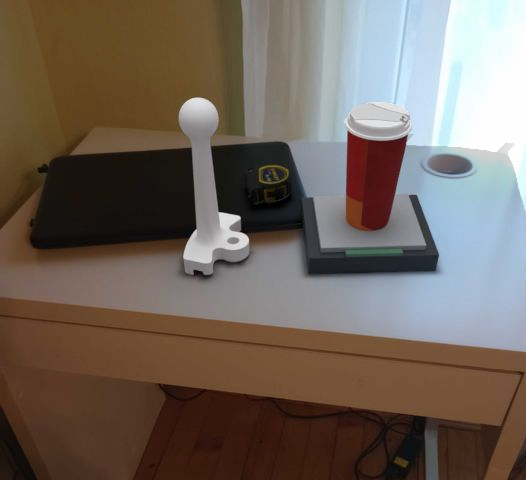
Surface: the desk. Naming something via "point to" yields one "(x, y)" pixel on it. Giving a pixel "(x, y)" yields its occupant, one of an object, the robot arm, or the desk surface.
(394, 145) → the paper cup
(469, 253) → the desk surface
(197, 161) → the joystick
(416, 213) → the scale
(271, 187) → the tape measure
